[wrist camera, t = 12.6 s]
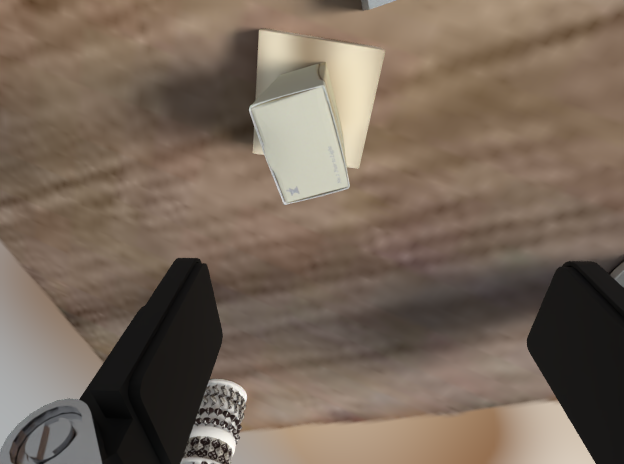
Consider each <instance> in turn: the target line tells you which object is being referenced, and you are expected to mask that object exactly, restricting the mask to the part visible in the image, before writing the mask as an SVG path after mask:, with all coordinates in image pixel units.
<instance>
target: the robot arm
mask: <svg viewBox="0 0 624 464" xmlns="http://www.w3.org/2000/svg"><path fill="white" fill-rule="evenodd" d="M222 337H223V334H222V328H221V323H220V319H219V315H218V310H217V306H216V301H215V297H214V293H213V288H212V284H211V279H210V275H209V270H208V267H207V265H206V264H205V263H201V261H200V259H198V258H177V259H176V260H175V261H174V262H173V264H172V266H171V267H170V269H169V270H168V272H167V273H166V275H165V276H164V278H163V279H162V281H161V282H160V284H159V285H158V287H157V288H156V290H155V291H154V293H153V294H152V296H151V297H150V299H149V300H148V302H147V304H146V305H145V306H144V307H142V308H141V309H140V310H139V311H138V312H137V314H136V315H135V317H134V318H133V320H132V321H131V323H130V324H129V326H128V327H127V329H126V330H125V332H124V333H123V335H122V336H121V338H120V339H119V341H118V342H117V344H116V345H115V347H114V348H113V350H112V351H111V353H110V354H109V356H108V357H107V359H106V360H105V362H104V363H103V365H102V366H101V368H100V369H99V371H98V372H97V374H96V375H95V377H94V378H93V380H92V381H91V383H90V384H89V386H88V387H87V389H86V390H85V392H84V393H83V395H82V396H81V398H80V399H79V400H78V399H64V400H57V401H55V402H52V403H50V404H47V405H45V406H43V407H41V408H40V409H38V410H36V411H35V412H33V413H31V414H30V415H29V416H28V417H26V418H25V419H24V420H23V421H22V422H20V423H19V424H18V425H17V426H16V427H15V429H14V430H13V431H12V432H11V433H10V434H9V436H8V437H7V439H6V441H5V442H4V444H3V446H2V448H1V452H0V464H180V463H181V460H182V458H183V455H184V452H185V449H186V446H187V443H188V440H189V437H190V434H191V431H192V429H193V426H194V423H195V420H196V417H197V414H198V411H199V408H200V405H201V402H202V399H203V397H204V394H205V391H206V388H207V385H208V382H209V379H210V376H211V373H212V370H213V367H214V364H215V362H216V359H217V356H218V353H219V350H220V347H221V344H222ZM527 347H528V350H529V352H530V354H531V356H532V357H533V359H534V361H535V362H536V364H537V366H538V367H539V369H540V371H541V372H542V374H543V376H544V377H545V379H546V381H547V382H548V384H549V386H550V387H551V389H552V391H553V393H554V394H555V396H556V398H557V399H558V401H559V403H560V404H561V406H562V407H563V409H564V411H565V413H566V414H567V416H568V418H569V419H570V421H571V423H572V424H573V426H574V428H575V429H576V431H577V433H578V434H579V436H580V438H581V439H582V441H583V443H584V444H585V446H586V448H587V450H588V451H589V453H590V455H591V456H592V458H593V460H594V461H595V463H596V464H624V262H623V263H621V264H620V265H619V266H618V267H617V268H616V269H615V270H614V271H613V272H612V273H611V274H610V275H609V274H608V273H607V272H606V271H605V270H604V269H603V268H602V267H601V266H599V265H598V264H597V263H595V262H582V261H569V262H566V263H565V264H563V266H562V267H559V268H558V269H557V270H556V272H555V274H554V276H553V279H552V281H551V284H550V286H549V288H548V291H547V293H546V295H545V298H544V300H543V302H542V305H541V307H540V309H539V312H538V314H537V316H536V319H535V321H534V323H533V326H532V328H531V330H530V333H529V335H528V338H527Z"/></svg>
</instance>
